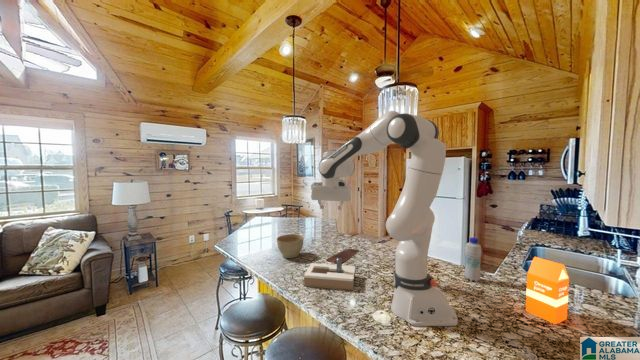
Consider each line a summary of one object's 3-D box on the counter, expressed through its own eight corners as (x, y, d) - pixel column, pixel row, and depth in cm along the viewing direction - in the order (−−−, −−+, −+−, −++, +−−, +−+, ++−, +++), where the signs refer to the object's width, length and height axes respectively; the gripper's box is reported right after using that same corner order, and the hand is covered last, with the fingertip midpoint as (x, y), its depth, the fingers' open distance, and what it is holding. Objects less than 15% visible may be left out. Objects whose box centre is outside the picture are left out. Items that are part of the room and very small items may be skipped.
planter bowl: (305, 251, 158) (305, 234, 158) (301, 261, 142) (301, 242, 142) (280, 250, 160) (280, 233, 159) (273, 260, 144) (273, 241, 143)
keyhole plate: (355, 276, 122) (355, 266, 122) (353, 290, 109) (353, 279, 108) (311, 272, 127) (311, 263, 127) (304, 285, 113) (304, 275, 113)
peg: (345, 279, 119) (345, 256, 118) (344, 284, 114) (344, 261, 113) (334, 278, 120) (334, 256, 119) (333, 283, 115) (333, 260, 114)
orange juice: (555, 324, 84) (558, 266, 83) (525, 310, 92) (527, 257, 91) (567, 318, 88) (570, 262, 86) (537, 305, 96) (539, 254, 94)
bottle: (482, 279, 118) (483, 237, 116) (479, 284, 113) (480, 240, 111) (466, 275, 122) (467, 234, 121) (462, 279, 117) (463, 237, 116)
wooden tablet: (347, 246, 164) (361, 247, 158) (348, 249, 164) (361, 251, 158) (324, 259, 142) (339, 261, 136) (325, 263, 142) (340, 265, 136)
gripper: (309, 182, 127) (309, 209, 128) (350, 183, 123) (349, 211, 124) (312, 181, 133) (312, 207, 135) (351, 182, 129) (350, 208, 130)
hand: (330, 209), depth 129 cm, fingers open, 8 cm apart
